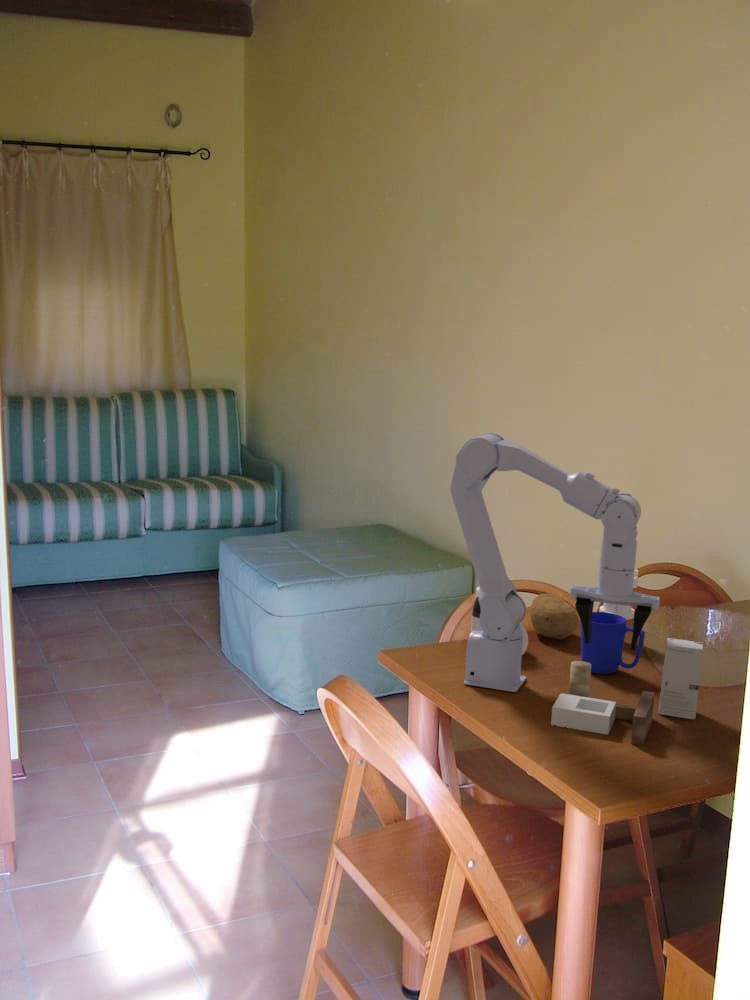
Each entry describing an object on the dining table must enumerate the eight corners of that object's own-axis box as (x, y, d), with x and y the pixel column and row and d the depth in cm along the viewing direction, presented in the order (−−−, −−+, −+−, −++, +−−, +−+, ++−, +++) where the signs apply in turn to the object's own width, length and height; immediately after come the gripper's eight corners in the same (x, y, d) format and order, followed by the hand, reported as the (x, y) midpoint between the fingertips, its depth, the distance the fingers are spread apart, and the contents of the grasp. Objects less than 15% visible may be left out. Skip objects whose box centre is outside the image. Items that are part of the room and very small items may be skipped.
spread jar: (477, 637, 212) (480, 581, 210) (532, 644, 209) (536, 587, 207) (463, 654, 201) (466, 595, 199) (522, 662, 197) (525, 602, 195)
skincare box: (658, 715, 173) (664, 644, 170) (659, 706, 177) (665, 636, 175) (697, 720, 171) (703, 649, 169) (697, 711, 175) (703, 641, 173)
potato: (540, 648, 206) (543, 608, 205) (520, 627, 220) (522, 590, 218) (588, 647, 208) (591, 608, 206) (564, 626, 221) (567, 590, 220)
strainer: (635, 647, 209) (641, 574, 206) (600, 645, 209) (605, 572, 206) (629, 636, 216) (634, 565, 213) (594, 635, 216) (599, 564, 213)
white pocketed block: (551, 725, 167) (552, 707, 166) (559, 710, 173) (561, 693, 173) (608, 734, 164) (609, 716, 163) (614, 719, 170) (616, 701, 169)
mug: (631, 685, 186) (635, 631, 185) (569, 670, 194) (573, 618, 192) (649, 674, 193) (653, 621, 191) (589, 659, 200) (593, 609, 198)
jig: (547, 729, 165) (548, 702, 164) (562, 704, 176) (563, 678, 175) (643, 745, 160) (645, 717, 159) (652, 718, 171) (654, 692, 170)
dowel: (566, 702, 177) (569, 665, 176) (570, 695, 180) (573, 659, 179) (586, 705, 176) (589, 668, 175) (590, 699, 179) (593, 662, 178)
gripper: (664, 567, 176) (656, 644, 179) (577, 557, 181) (571, 632, 184) (659, 576, 170) (652, 656, 172) (570, 565, 175) (564, 643, 177)
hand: (610, 645), depth 177 cm, fingers open, 7 cm apart
